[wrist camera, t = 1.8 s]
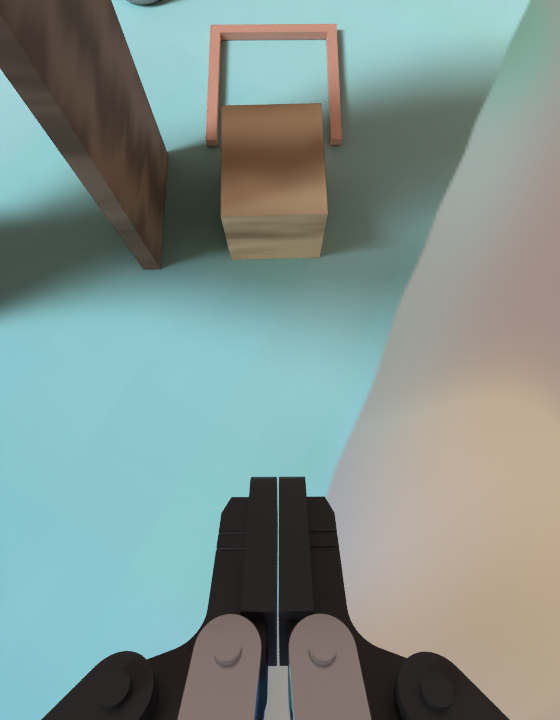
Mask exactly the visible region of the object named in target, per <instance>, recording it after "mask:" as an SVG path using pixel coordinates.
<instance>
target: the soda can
mask: <svg viewBox="0 0 560 720" xmlns="http://www.w3.org/2000/svg"><path fill="white" fill-rule="evenodd" d="M127 1H129V2H131V3H135V4H151V3H154V2H157V1H159V0H127Z"/></svg>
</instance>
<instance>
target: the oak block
mask: <svg viewBox="0 0 560 720" xmlns="http://www.w3.org/2000/svg"><path fill="white" fill-rule="evenodd" d="M327 216H328V208H327V191H326V174H325V158H324V141H323V124H322V108H321V103H314V104H271V105H229V106H222V122H221V220H222V224H223V228H224V232H225V236H226V240H227V244H228V248H229V252H230V256H231V260H240V259H279V258H319V257H320V253H321V248H322V242H323V237H324V232H325V227H326V221H327Z"/></svg>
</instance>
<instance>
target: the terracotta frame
mask: <svg viewBox="0 0 560 720" xmlns="http://www.w3.org/2000/svg"><path fill="white" fill-rule="evenodd" d="M303 39H326V45H327V69H328V94H329V118H330V143H331V145H341V142H342V127H341V107H340V86H339V66H338V45H337V25H336V24H268V25H211V27H210V51H209V75H208V99H207V122H206V143H207V146H217V145H218V116H219V87H220V57H221V40H303Z"/></svg>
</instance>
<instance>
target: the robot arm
mask: <svg viewBox="0 0 560 720" xmlns="http://www.w3.org/2000/svg"><path fill="white" fill-rule="evenodd" d="M277 553H278V511H277V477H251V481H250V493H249V497H231V499H230V501H229V502H228V504H227V505H226V507H225V509H224V510H223V512H222V514H221V521H220V528H219V535H218V542H217V551H216V555H215V562H214V569H213V576H212V583H211V590H210V597H209V604H208V610H207V614H206V617H205V620H204V622H203V624H202V626H201V627H200V629H199V630H198V632H197V633H196V634H195V635H194V636H193V637H192V638H191V639H190V640H189V641H188V642H187V643H185V644H183V645H182V646H180V647H178V648H176V649H174V650H171V651H168V652H166V653H163V654H160V655H158V656H155V657H152V658H150V659H147V660H146V659H145V658H144V657H143V656H142V655H140V654H138V653H136V652H132V651H123V652H118V653H115V654H113V655H110V656H108V657H107V658H105V659H104V660H102V661H101V662H100V663H99V664H97V665H96V666H95V667H94V668H93V669H92V670H91V671H90V672H89V673H88V674H87V675H86V676H85V677H84V678H83V679H82V680H81V681H80V682H79V683H78V684H77V685H76V686H75V687H74V688H73V689H72V690H71V691H70V692H69V693H68V694H67V695H66V696H65V697H64V698H63V699H62V700H61V701H60V702H59V703H58V704H57V705H56V706H55V707H54V708H53V709H52V710H51V711H50V712H49V713H48V714H47V715H46V716H45V717H44V718H43V719H42V720H264V713H265V707H266V704H267V684H268V666H277ZM279 654H280V655H279V656H280V666H288V696H289V697H288V698H289V700H288V706H289V707H288V708H289V720H509V719H508V718H507V717H506V716H505V715H504V714H503V713H502V712H501V711H500V710H499V709H498V708H497V707H496V706H495V705H494V704H493V703H492V702H491V701H490V700H489V699H488V698H487V697H486V696H485V695H484V694H483V693H482V692H481V691H480V690H479V689H478V688H477V687H476V686H475V685H474V684H473V683H472V682H471V681H470V680H469V679H468V678H467V677H466V676H465V675H464V674H463V673H462V672H461V671H460V670H459V669H458V668H457V667H456V666H455V665H454V664H453V663H452V662H451V661H449V660H448V659H446V658H445V657H443V656H440V655H438V654H435V653H432V652H419V653H416V654H413V655H411V656H410V657H409V658H405V657H402V656H400V655H397V654H394V653H391V652H389V651H386V650H383V649H381V648H378V647H376V646H374V645H372V644H371V643H369V642H368V641H367V640H365V639H364V638H363V637H362V636H361V635H360V634H359V633H358V632H357V630H356V629H355V627H354V626H353V624H352V622H351V620H350V617H349V615H348V610H347V605H346V597H345V590H344V582H343V575H342V567H341V560H340V552H339V544H338V537H337V529H336V522H335V515H334V512H333V510H332V508H331V506H330V505H329V503H328V502H327V500H326V498H325V497H306V484H305V477H279Z"/></svg>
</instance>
